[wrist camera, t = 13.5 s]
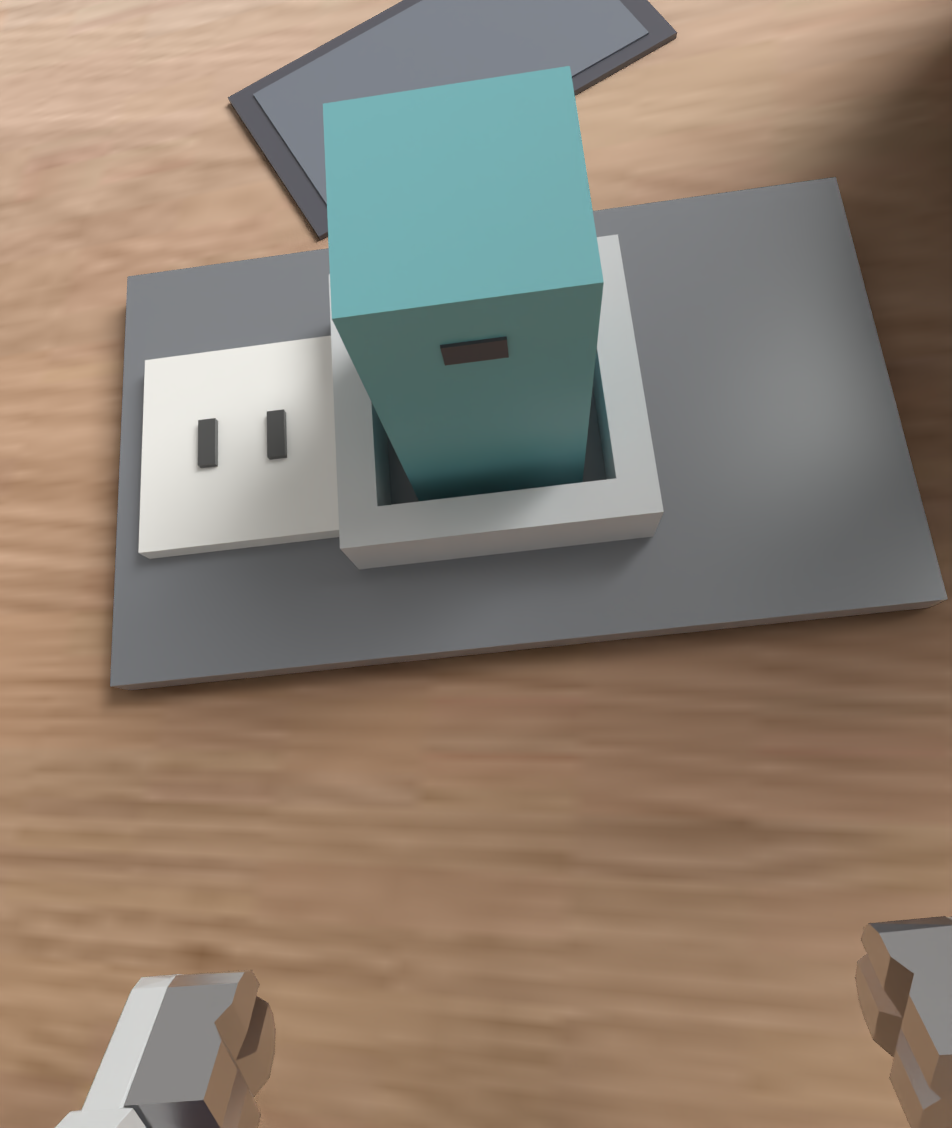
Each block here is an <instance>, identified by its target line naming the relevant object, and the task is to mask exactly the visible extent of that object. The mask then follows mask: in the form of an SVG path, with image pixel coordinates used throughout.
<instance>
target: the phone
mask: <svg viewBox="0 0 952 1128" xmlns="http://www.w3.org/2000/svg"><path fill="white" fill-rule="evenodd" d="M676 35H677V32H676V31H675V30H674V29H673V27H672V26H671V25H670V24H669V23H668V22H667V21H666V20H665V19H664V18H663V17H662V16H661V15H660V13H659V12H658V11H657V10H656V9H655V8H654V7H653V6H652V5H651V4H650V3H649V2H648V1H647V0H403V1H401V2H399V3H398V4H396V5H394V6H392V7H390V8H389V9H387V10H385V11H383V12H381V13H380V14H378V15H376V16H374V17H372V18H371V19H369V20H367V21H365V22H363V23H361V24H360V25H358V26H356V27H354V28H352V29H351V30H349V31H347V32H345V33H343V34H342V35H340V36H338V37H336V38H334V39H333V40H331V41H329V42H327V43H325V44H324V45H322V46H320V47H318V48H316V49H315V50H313V51H311V52H309V53H307V54H306V55H304V56H302V57H300V58H298V59H296V60H295V61H293V62H291V63H289V64H287V65H286V66H284V67H282V68H280V69H278V70H277V71H275V72H273V73H271V74H269V75H268V76H266V77H264V78H262V79H260V80H259V81H257V82H255V83H253V84H251V85H250V86H248V87H246V88H244V89H242V90H241V91H239V92H237V93H235V94H233V95H231V96H230V97H228V99H229V101H230V103H231V105H232V106H233V108H234V109H235V111H236V112H237V114H238V115H239V117H240V118H241V120H242V121H243V123H244V124H245V126H246V127H247V129H248V131H249V132H250V134H251V135H252V137H253V138H254V140H255V141H256V143H257V144H258V146H259V147H260V149H261V150H262V152H263V153H264V155H265V156H266V158H267V159H268V161H269V163H270V164H271V166H272V167H273V169H274V170H275V172H276V173H277V175H278V176H279V178H280V179H281V181H282V182H283V184H284V185H285V187H286V188H287V190H288V191H289V193H290V195H291V196H292V198H293V199H294V201H295V202H296V204H297V205H298V207H299V208H300V210H301V211H302V213H303V214H304V216H305V217H306V219H307V220H308V222H309V224H310V225H311V227H312V228H313V230H314V231H315V233H316V234H317V236H318V237H319V239H320V240H322V239H324V238H326V237H328V218H327V194H326V170H325V146H324V122H323V104H324V103H331V102H337V101H344V100H350V99H357V98H363V97H370V96H376V95H383V94H390V93H396V92H403V91H409V90H416V89H422V88H429V87H435V86H442V85H448V84H455V83H461V82H468V81H474V80H481V79H487V78H494V77H500V76H507V75H513V74H520V73H526V72H533V71H539V70H546V69H552V68H559V67H565V66H570V69H571V76H572V82H573V89H574V95H577V94H579V93H581V92H582V91H584V90H586V89H588V88H589V87H591V86H593V85H595V84H597V83H598V82H600V81H602V80H604V79H605V78H607V77H609V76H611V75H612V74H614V73H616V72H618V71H619V70H621V69H623V68H625V67H626V66H628V65H630V64H632V63H633V62H635V61H637V60H639V59H640V58H642V57H644V56H646V55H647V54H649V53H651V52H653V51H655V50H656V49H658V48H660V47H662V46H663V45H665V44H667V43H669V42H670V41H672V40H674V39H676Z"/></svg>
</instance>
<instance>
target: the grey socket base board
mask: <svg viewBox="0 0 952 1128" xmlns="http://www.w3.org/2000/svg"><path fill="white" fill-rule="evenodd" d="M593 217H594V223H595V229H596V236H597V242H598V249H599V255H600V261H601V268H602V274H603V281H604V285H603V294H602V303H601V313H600V322H599V331H598V341H597V350H596V360H595V369H594V378H593V388H592V397H591V407H590V416H589V425H588V435H587V444H586V453H585V463H584V472H583V482H581V483H573V484H564V485H556V486H547V487H539V488H530V489H521V490H513V491H504V492H496V493H487V494H479V495H470V496H462V497H453V498H445V499H436V500H428V501H419V500H418V498H417V496H416V494H415V492H414V489H413V487H412V485H411V483H410V481H409V479H408V477H407V475H406V473H405V471H404V469H403V467H402V464H401V462H400V460H399V458H398V456H397V454H396V452H395V450H394V448H393V446H392V444H391V441H390V439H389V437H388V435H387V433H386V431H385V429H384V427H383V425H382V423H381V421H380V419H379V416H378V414H377V412H376V410H375V408H374V406H373V404H372V402H371V400H370V398H369V396H368V393H367V391H366V389H365V387H364V385H363V383H362V381H361V379H360V377H359V375H358V373H357V371H356V368H355V366H354V364H353V362H352V360H351V358H350V356H349V354H348V352H347V350H346V348H345V345H344V343H343V341H342V339H341V337H340V335H339V333H338V331H337V329H336V327H335V325H334V323H333V320H332V313H331V289H330V265H329V248H328V249H321V250H313V251H306V252H299V253H292V254H285V255H278V256H271V257H264V258H257V259H250V260H242V261H235V262H228V263H221V264H214V265H207V266H200V267H193V268H186V269H179V270H171V271H164V272H157V273H150V274H143V275H136V276H129V277H128V280H127V303H126V327H125V350H124V374H123V397H122V420H121V444H120V467H119V491H118V514H117V537H116V561H115V584H114V608H113V631H112V654H111V678H110V686H111V687H116V688H121V689H126V690H138V689H147V688H157V687H167V686H176V685H186V684H196V683H205V682H215V681H225V680H234V679H244V678H254V677H263V676H273V675H283V674H292V673H302V672H312V671H321V670H331V669H341V668H350V667H360V666H370V665H379V664H389V663H399V662H408V661H418V660H428V659H437V658H447V657H457V656H466V655H476V654H486V653H495V652H505V651H515V650H524V649H534V648H544V647H553V646H563V645H573V644H582V643H592V642H602V641H611V640H621V639H631V638H640V637H650V636H660V635H669V634H679V633H689V632H698V631H708V630H718V629H727V628H737V627H747V626H756V625H766V624H776V623H785V622H795V621H805V620H814V619H824V618H834V617H843V616H853V615H863V614H872V613H882V612H892V611H901V610H911V609H921V608H929V607H932V606H934V605H936V604H938V603H941V602H943V601H945V600H947V599H948V598H947V594H946V591H945V587H944V583H943V579H942V576H941V572H940V568H939V564H938V560H937V557H936V553H935V549H934V545H933V542H932V538H931V534H930V530H929V527H928V523H927V519H926V515H925V511H924V508H923V504H922V500H921V496H920V493H919V489H918V485H917V481H916V477H915V474H914V470H913V466H912V462H911V459H910V455H909V451H908V447H907V444H906V440H905V436H904V432H903V428H902V425H901V421H900V417H899V413H898V410H897V406H896V402H895V398H894V394H893V391H892V387H891V383H890V379H889V376H888V372H887V368H886V364H885V361H884V357H883V353H882V349H881V345H880V342H879V338H878V334H877V330H876V327H875V323H874V319H873V315H872V311H871V308H870V304H869V300H868V296H867V293H866V289H865V285H864V281H863V278H862V274H861V270H860V266H859V262H858V259H857V255H856V251H855V247H854V244H853V240H852V236H851V232H850V228H849V225H848V221H847V217H846V213H845V210H844V206H843V202H842V198H841V195H840V191H839V187H838V183H837V179H836V177H832V178H825V179H818V180H811V181H804V182H796V183H789V184H782V185H775V186H768V187H761V188H754V189H747V190H740V191H733V192H725V193H718V194H711V195H704V196H697V197H690V198H683V199H676V200H669V201H662V202H654V203H647V204H640V205H633V206H626V207H619V208H612V209H605V210H598V211H593Z"/></svg>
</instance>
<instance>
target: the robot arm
mask: <svg viewBox="0 0 952 1128" xmlns="http://www.w3.org/2000/svg"><path fill="white" fill-rule="evenodd" d="M861 941H862V943H863V946H864V948H865V950H866V952H867V954H866V955H865V956H863V957H862V958H861V959H860V960H859V961H857V968H856V977H855V979H856V986H857V993H858V1000H859V1003H860V1006H861V1009H862V1013H863V1016H864V1019H865V1021H866V1024H867V1026H868V1029H869V1031H870V1034H871V1036H872V1038H873V1040H874V1041H875V1042H876V1043H877V1044H878V1045H880V1046H881V1047H882V1048H883V1049H884V1050H885V1051H886V1052H888V1053H889V1054H890V1055H891V1056H892V1057H893V1058H894V1059H893V1064H892V1068H891V1073H890V1077H889V1078H890V1081H891V1083H892V1085H893V1088H894V1090H895V1092H896V1095H897V1097H898V1099H899V1102H900V1104H901V1106H902V1109H903V1111H904V1113H905V1115H906V1118H907V1120H908V1122H909V1125H910V1127H911V1128H952V917H946V916H941V917H931V918H920V919H909V920H899V921H888V922H877V923H868V924H867V925H866V926H865V927H864V928H863V933H862V938H861ZM258 988H259V982H258V980H257V978H256V976H255V974H254V973H253V971H252V970H242V971H228V972H214V973H200V974H186V975H182V974H175V975H163V976H151V977H141V979H140V980H139V981H138V982H137V984H136V985H135V986H134V988H133V989H132V990H131V992H130V994H129V996H128V999H127V1001H126V1004H125V1006H124V1008H123V1011H122V1013H121V1016H120V1018H119V1020H118V1023H117V1025H116V1028H115V1030H114V1032H113V1035H112V1037H111V1040H110V1042H109V1044H108V1047H107V1049H106V1052H105V1054H104V1056H103V1059H102V1061H101V1064H100V1066H99V1068H98V1071H97V1073H96V1076H95V1078H94V1080H93V1083H92V1085H91V1088H90V1090H89V1092H88V1095H87V1097H86V1100H85V1102H84V1104H83V1107H82V1109H81V1110H77V1111H70V1112H69V1113H68V1114H67V1115H66V1116H65V1117H64V1118H63V1119H62V1120H61V1121H60V1123H59V1124H58V1125H57V1126H56V1127H55V1128H258V1126H259V1122H260V1117H261V1114H260V1112H259V1109H258V1106H257V1104H256V1101H255V1099H254V1096H255V1095H256V1094H257V1093H258V1091H259V1090H260V1089H261V1088H262V1087H263V1085H264V1084H265V1083H266V1082H267V1080H268V1079H269V1078H270V1073H271V1068H272V1064H273V1059H274V1054H275V1035H276V1028H275V1022H274V1016H273V1012H272V1010H271V1008H270V1006H269V1003H267V1002H266V1001H264V1000H262V999H261V998H259V997H257V992H258Z"/></svg>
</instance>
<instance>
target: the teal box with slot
mask: <svg viewBox="0 0 952 1128" xmlns="http://www.w3.org/2000/svg"><path fill="white" fill-rule="evenodd" d="M323 122H324V146H325V170H326V194H327V218H328V242H329V265H330V289H331V313H332V320H333V323H334V325H335V327H336V329H337V331H338V333H339V335H340V337H341V339H342V341H343V343H344V345H345V348H346V350H347V352H348V354H349V356H350V358H351V360H352V362H353V364H354V366H355V368H356V371H357V373H358V375H359V377H360V379H361V381H362V383H363V385H364V387H365V389H366V391H367V393H368V396H369V398H370V400H371V402H372V404H373V406H374V408H375V410H376V412H377V414H378V416H379V419H380V421H381V423H382V425H383V427H384V429H385V431H386V433H387V435H388V437H389V439H390V441H391V444H392V446H393V448H394V450H395V452H396V454H397V456H398V458H399V460H400V462H401V464H402V467H403V469H404V471H405V473H406V475H407V477H408V479H409V481H410V483H411V485H412V487H413V489H414V492H415V494H416V496H417V498H418V500H419V501H428V500H436V499H445V498H453V497H462V496H470V495H479V494H487V493H496V492H504V491H513V490H521V489H530V488H539V487H547V486H556V485H564V484H573V483H581V482H583V472H584V463H585V453H586V444H587V435H588V425H589V416H590V407H591V397H592V388H593V378H594V369H595V360H596V350H597V341H598V331H599V322H600V313H601V303H602V294H603V285H604V281H603V274H602V268H601V261H600V255H599V249H598V242H597V236H596V229H595V223H594V217H593V210H592V204H591V197H590V191H589V185H588V178H587V172H586V165H585V159H584V153H583V146H582V140H581V133H580V127H579V121H578V114H577V108H576V101H575V95H574V89H573V82H572V76H571V69H570V66H565V67H559V68H552V69H546V70H539V71H533V72H526V73H520V74H513V75H507V76H500V77H494V78H487V79H481V80H474V81H468V82H461V83H455V84H448V85H442V86H435V87H429V88H422V89H416V90H409V91H403V92H396V93H390V94H383V95H376V96H370V97H363V98H357V99H350V100H344V101H337V102H331V103H324V104H323Z"/></svg>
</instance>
